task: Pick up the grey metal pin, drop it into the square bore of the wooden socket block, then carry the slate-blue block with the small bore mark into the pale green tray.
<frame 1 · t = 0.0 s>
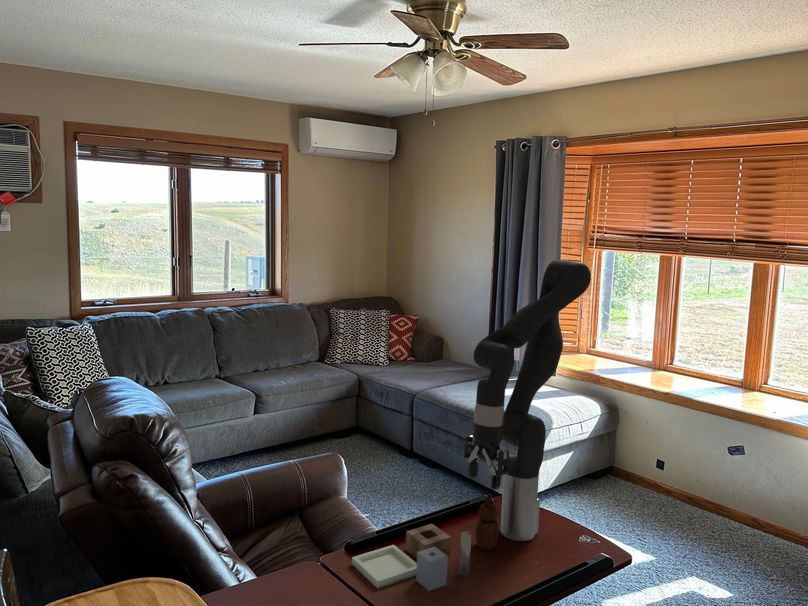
hand: (483, 482, 163), 17 cm above the table, tool pointing down, fingers open, 8 cm apart
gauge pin: (464, 573, 152), on the table
tray: (386, 569, 153), on the table
slate block: (431, 582, 148), on the table
wooden socket block: (427, 552, 161), on the table
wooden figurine: (486, 547, 165), on the table
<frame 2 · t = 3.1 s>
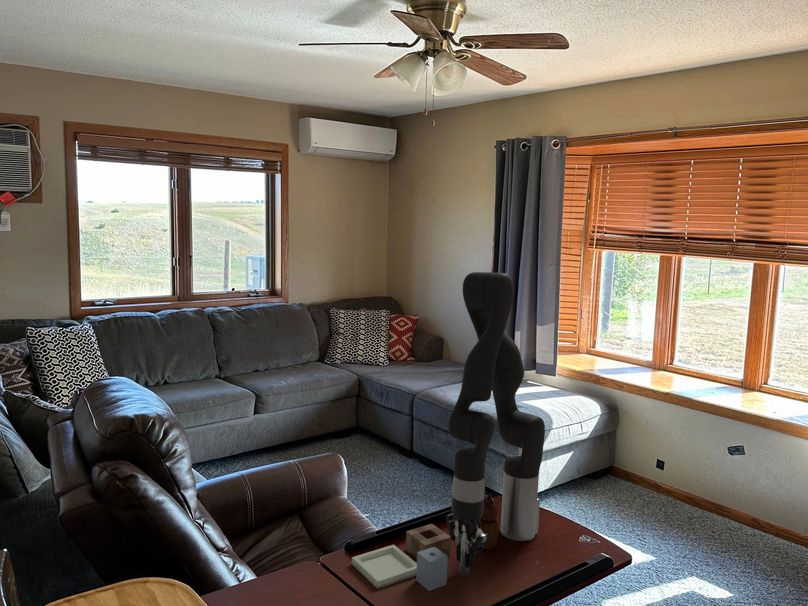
hand: (464, 563, 152), 3 cm above the table, tool pointing down, fingers closed on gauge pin, 2 cm apart
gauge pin: (464, 573, 152), on the table, touching gripper
everything else where it was.
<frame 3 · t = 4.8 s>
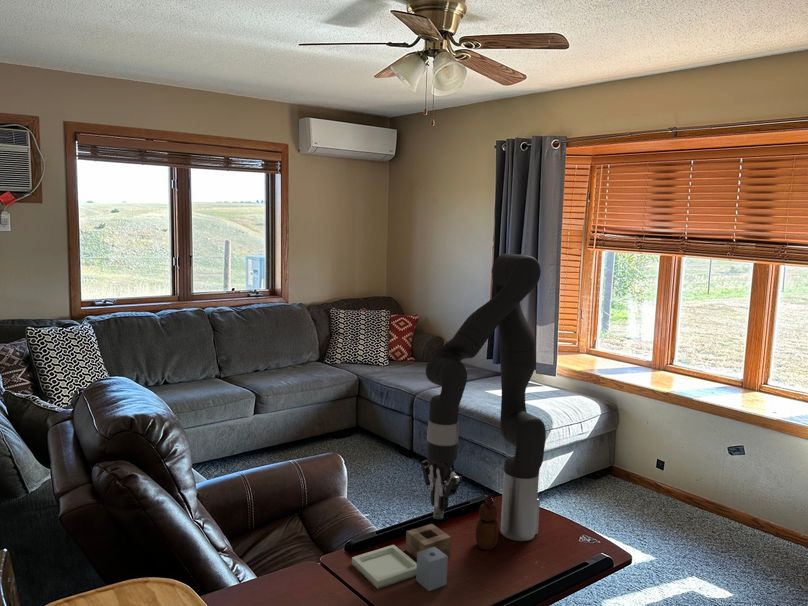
hand: (439, 506, 156), 14 cm above the table, tool pointing down, fingers closed on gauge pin, 2 cm apart
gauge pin: (438, 517, 157), point 11 cm above the table, touching gripper
everything else where it was.
when the fingers open (6 cm above the table, at t = 6.8 s): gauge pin drops 3 cm, resting in wooden socket block.
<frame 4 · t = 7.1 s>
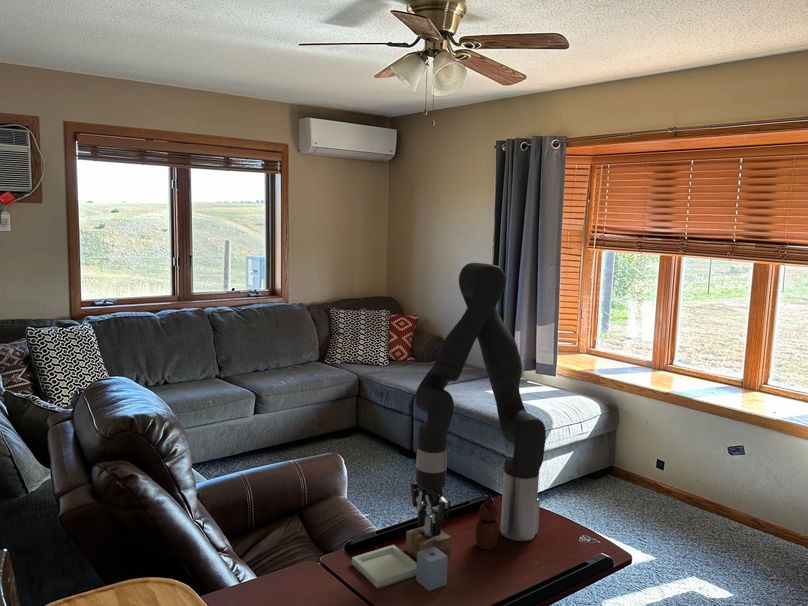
hand: (428, 530, 160), 6 cm above the table, tool pointing down, fingers open, 5 cm apart
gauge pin: (428, 553, 160), resting in wooden socket block
everything else where it was.
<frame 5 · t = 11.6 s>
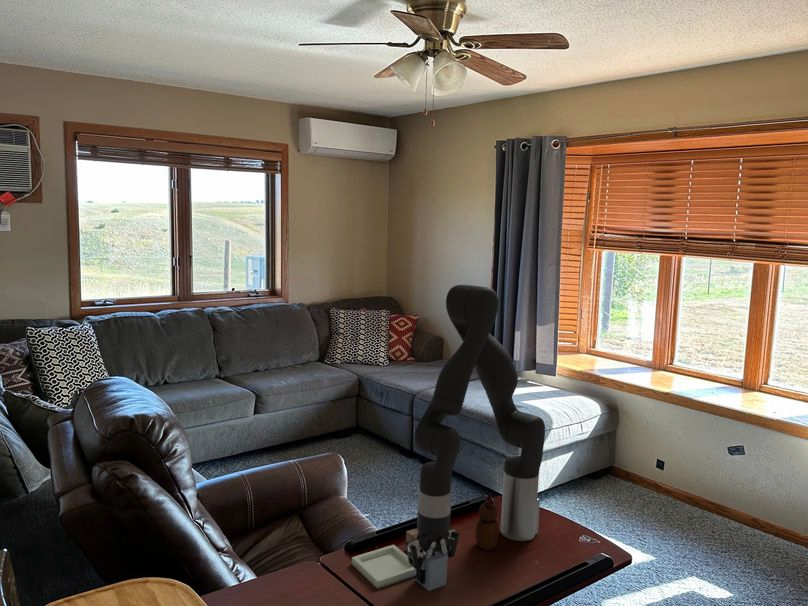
hand: (431, 578, 148), 1 cm above the table, tool pointing down, fingers closed on slate block, 5 cm apart
slate block: (431, 582, 148), on the table, touching gripper
everything else where it was.
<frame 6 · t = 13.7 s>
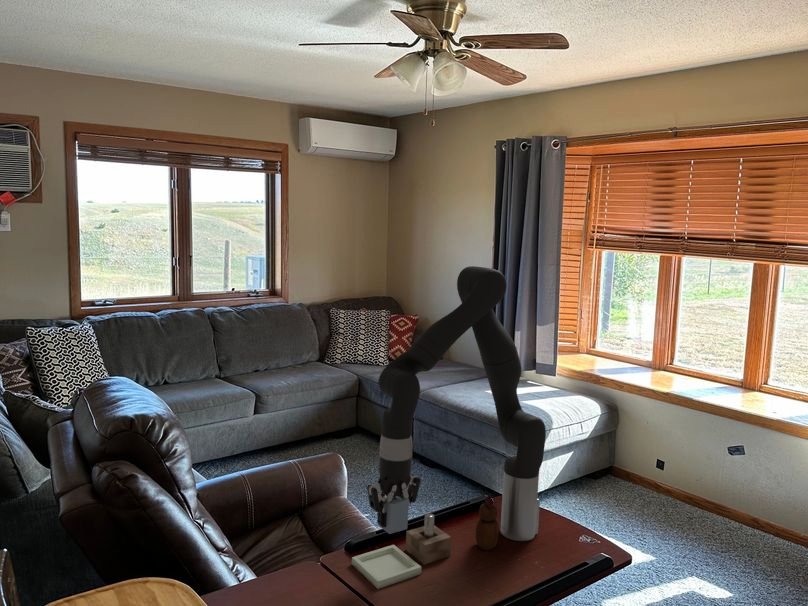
hand: (392, 523, 150), 12 cm above the table, tool pointing down, fingers closed on slate block, 5 cm apart
slate block: (392, 527, 150), point 11 cm above the table, touching gripper
everything else where it was.
when the fingers open (3 cm above the table, at t = 15.8 s): slate block drops 2 cm, resting on tray.
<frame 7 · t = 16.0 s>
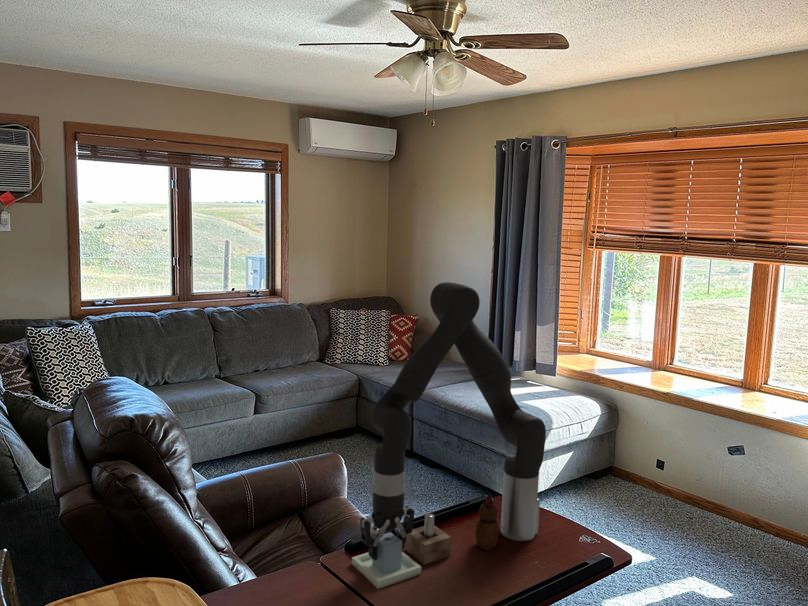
hand: (386, 554, 152), 4 cm above the table, tool pointing down, fingers open, 6 cm apart
slate block: (386, 566, 153), point 1 cm above the table, touching tray
everything else where it was.
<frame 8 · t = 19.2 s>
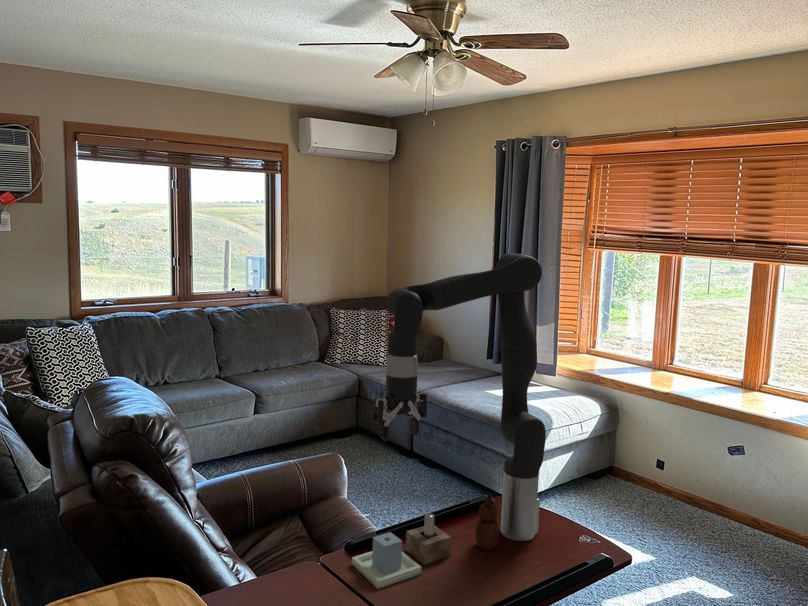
hand: (399, 437, 156), 30 cm above the table, tool pointing down, fingers open, 8 cm apart
nothing on the table moved.
at the end: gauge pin 0.2 cm off-centre on the wooden socket block, point 0.0 cm above the wooden socket block's base; slate block inside the target area on the tray (0.1 cm from its centre), point 0.6 cm above the tray's base; the gripper is holding nothing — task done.
